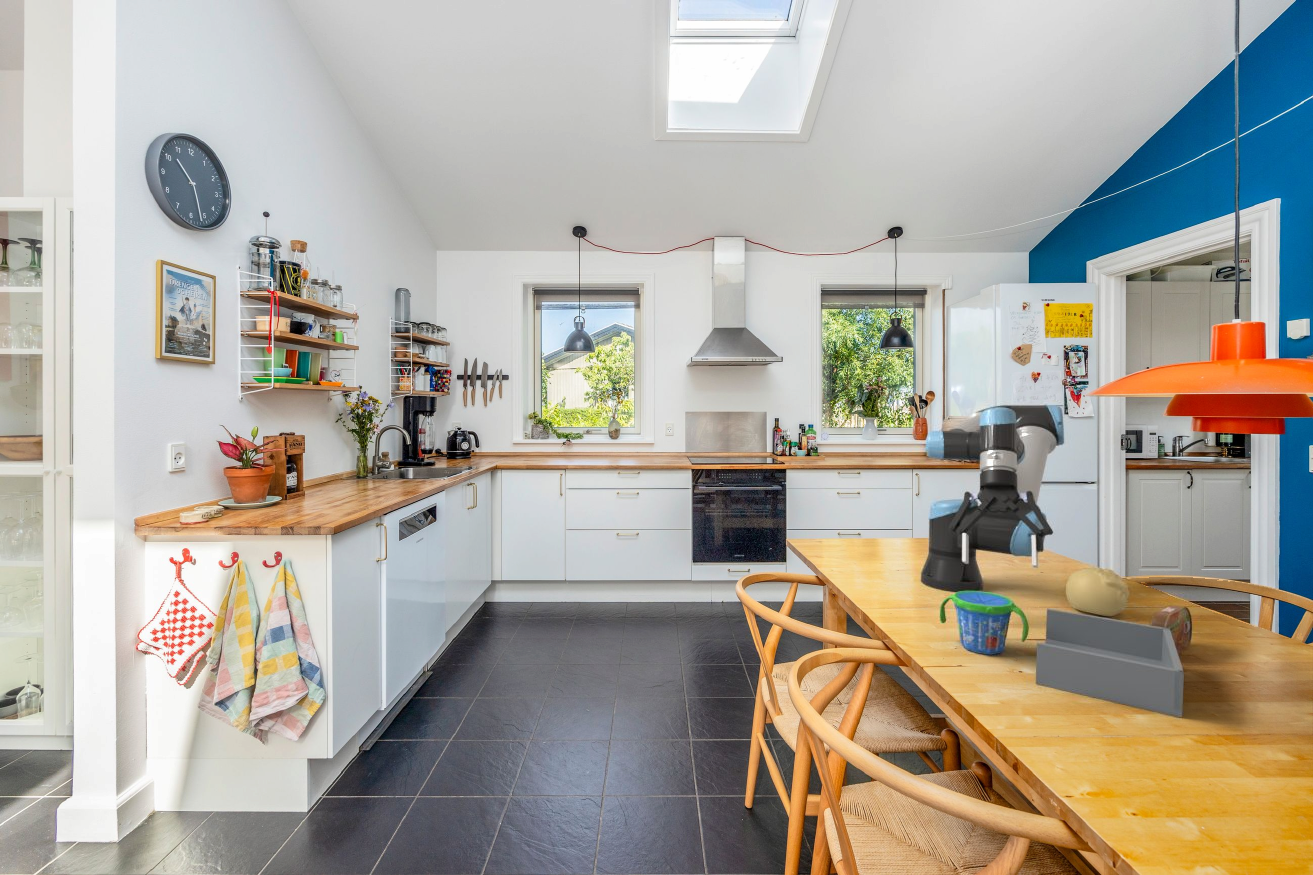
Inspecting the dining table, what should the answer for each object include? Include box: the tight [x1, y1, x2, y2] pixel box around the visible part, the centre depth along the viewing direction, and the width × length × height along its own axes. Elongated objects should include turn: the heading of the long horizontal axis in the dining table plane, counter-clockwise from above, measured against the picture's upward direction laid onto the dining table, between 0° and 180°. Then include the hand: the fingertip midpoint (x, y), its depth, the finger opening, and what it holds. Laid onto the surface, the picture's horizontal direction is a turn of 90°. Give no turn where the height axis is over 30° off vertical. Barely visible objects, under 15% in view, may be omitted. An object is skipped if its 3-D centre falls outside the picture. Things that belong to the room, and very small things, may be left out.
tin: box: [1149, 605, 1193, 655], centre depth 119 cm, size 15×3×8 cm, turn 123°
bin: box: [1035, 607, 1185, 718], centre depth 107 cm, size 24×19×7 cm
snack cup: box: [939, 590, 1030, 656], centre depth 119 cm, size 16×10×10 cm
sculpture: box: [1065, 565, 1130, 617], centre depth 142 cm, size 11×12×11 cm
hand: (999, 564), depth 133 cm, fingers open, 13 cm apart
